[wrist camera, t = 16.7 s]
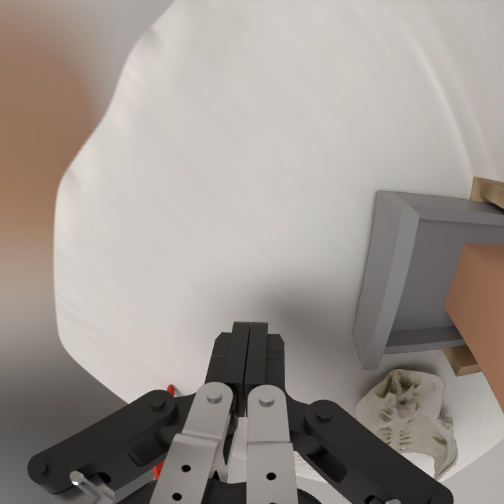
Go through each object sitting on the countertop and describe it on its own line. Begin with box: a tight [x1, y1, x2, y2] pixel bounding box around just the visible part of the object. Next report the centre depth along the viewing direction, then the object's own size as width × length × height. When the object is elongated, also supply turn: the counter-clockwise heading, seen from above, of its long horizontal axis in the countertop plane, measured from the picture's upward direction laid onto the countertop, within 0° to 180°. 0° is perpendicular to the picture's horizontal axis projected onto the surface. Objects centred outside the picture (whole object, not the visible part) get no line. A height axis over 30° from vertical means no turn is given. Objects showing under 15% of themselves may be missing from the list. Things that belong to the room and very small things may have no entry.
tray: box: [352, 191, 504, 370], centre depth 16 cm, size 10×13×4 cm
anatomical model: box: [343, 369, 458, 498], centre depth 24 cm, size 15×9×25 cm
